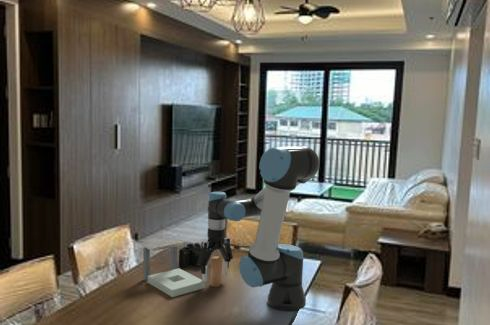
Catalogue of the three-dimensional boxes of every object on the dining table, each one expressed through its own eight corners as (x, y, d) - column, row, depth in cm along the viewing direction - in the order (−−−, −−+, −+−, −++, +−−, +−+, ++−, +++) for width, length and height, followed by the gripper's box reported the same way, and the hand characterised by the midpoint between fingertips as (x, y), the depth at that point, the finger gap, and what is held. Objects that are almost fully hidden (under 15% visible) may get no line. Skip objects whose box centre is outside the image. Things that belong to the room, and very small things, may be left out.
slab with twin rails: (183, 277, 202) (184, 242, 200) (152, 285, 192) (152, 248, 190) (174, 272, 208) (174, 238, 206) (143, 279, 198) (143, 244, 196)
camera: (192, 271, 210) (192, 251, 209) (176, 266, 216) (176, 246, 215) (211, 264, 221) (212, 244, 220) (195, 259, 227) (196, 240, 226)
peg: (222, 285, 194) (223, 258, 193) (214, 287, 191) (215, 260, 190) (216, 282, 197) (217, 255, 196) (208, 284, 194) (209, 257, 193)
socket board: (204, 288, 190) (204, 281, 190) (172, 297, 180) (172, 290, 179) (179, 274, 205) (179, 268, 205) (147, 282, 195) (147, 275, 194)
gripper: (231, 222, 201) (229, 270, 204) (189, 229, 187) (187, 281, 189) (242, 226, 196) (240, 275, 198) (199, 233, 181) (198, 286, 183)
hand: (214, 278), depth 193 cm, fingers open, 10 cm apart
